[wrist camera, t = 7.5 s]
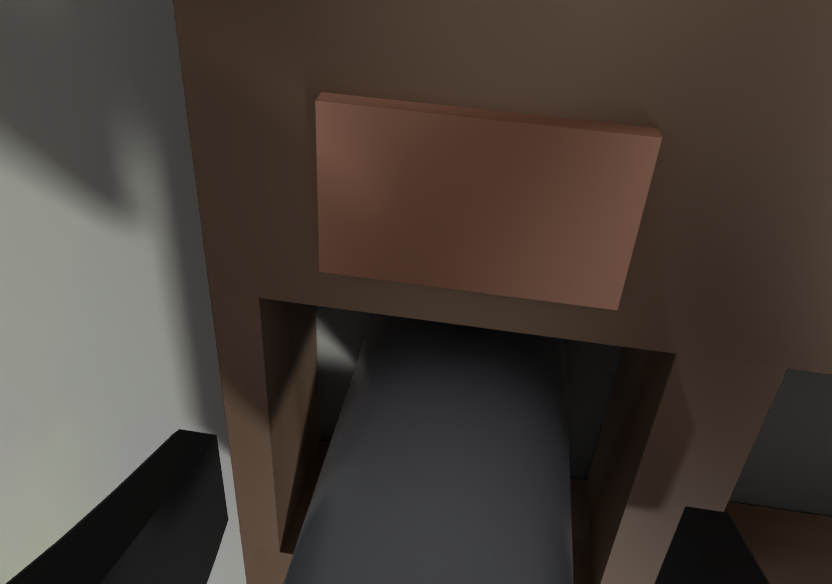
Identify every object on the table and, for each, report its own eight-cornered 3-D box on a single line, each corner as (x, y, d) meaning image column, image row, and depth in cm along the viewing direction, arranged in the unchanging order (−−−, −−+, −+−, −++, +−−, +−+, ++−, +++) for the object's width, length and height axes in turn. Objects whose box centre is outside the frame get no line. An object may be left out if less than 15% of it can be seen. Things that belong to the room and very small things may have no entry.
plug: (582, 286, 13) (620, 860, 6) (550, 441, 16) (552, 995, 8) (366, 262, 14) (168, 775, 7) (366, 416, 16) (218, 925, 9)
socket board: (1458, -64, 9) (1859, 0, 6) (931, 609, 17) (1004, 766, 14) (249, -156, 10) (142, -137, 8) (291, 507, 18) (246, 632, 15)
